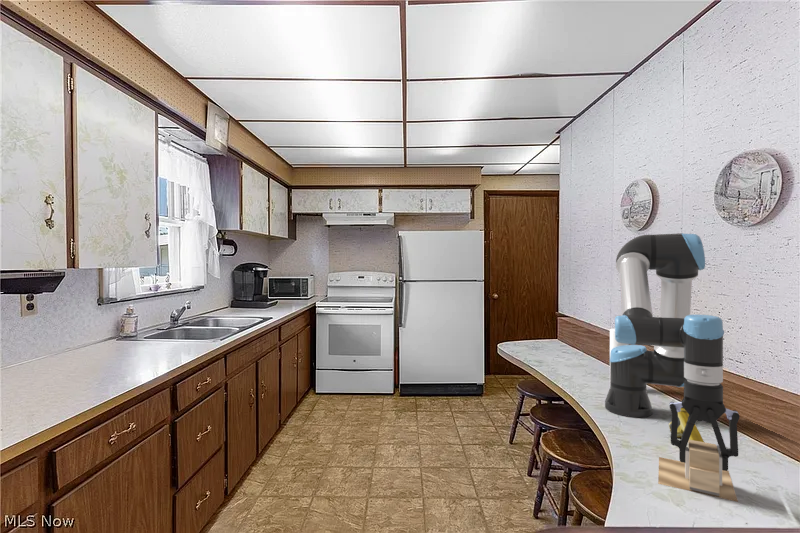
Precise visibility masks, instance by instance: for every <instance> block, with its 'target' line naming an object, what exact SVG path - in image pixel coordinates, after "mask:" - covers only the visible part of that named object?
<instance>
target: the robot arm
mask: <svg viewBox="0 0 800 533" xmlns="http://www.w3.org/2000/svg"><path fill="white" fill-rule="evenodd" d="M615 267H616V270H617V272H618V273H619V280H620V281H619V282H620V284H619V285H620V300H621V301H620V302H621V303H620V304H621V315H617V316H615V317H614V329H615V340H616V341H617V342H619V343H625V344H629V345H623V346H617V347H614V348H613V349H612V350H611V353H610V352H609V390H608V392H607V394H606V397H605V400H604V407H605V409H606V410H607V411H609V412H611V413H613V414H616V415H619V416H625V417H631V418H646V417H650V416H652V414H653V406H652V404H651V400H650V398H649V395H648V392H647V385H648V384H651V385H660V386H667V387H668V386H670V387H676V388H683V398H682V399H681V401H678V402H675V401H670V402H669V404H668V405H669V409H670V412H671V421H672V422H671V421H670V422H671V432H670V445H672V446H675V447H677V448H678V449H679V451H678V452H679V461H680V462H684V463H685V478H688V479H689V447H688V441H689V438H690V435H691V433H692V430H693V427H694V425H696V423H697V422H705V423H708V424H711V427H712V430H713V433H714V435H715V439H716V442H717V446H718V447H719V450H720V452H718V453H719V485H720V486H722V470H724V471H729V458H730V457H739V441H738V440H739V439H738V438H739V436H738V423H739V421H740V417H741V416H740V413H739V412H738V410H736V409H735V410H731V409H729V408H726V405H725V404H724V386H723V384H722V383H723V382H724V334H725V331H724V326H723V325H724V324H723V320H722V318H721V317H719V316H716V315H712V314H711V315H710V314H691V309H692V308H691V304H692V290H693V289H692V285H693V284H692V283H693V280H694V279H696V278H697V277H698V276H699V271H702V270H705V269H706V256H705V249H704V245H703V242H702V238H701V237H700V236H699V235H698V234H696V233H683V232H681V233H662V234H661V233H660V234H659V233H658V234H643V235H639V236H636V237H633V238H632V239H630V240H629V241H627V242H626V243H625V244H624V245H623V246H622V247H621V248H620V249H619V250H618V253H617V254H616V259H615ZM649 270H652V271H655V275H656V276H657V277H658V278H660V299H659V300H660V305H659V316H653V308H652V301H651V300H652V299H651V294H650V293H651V292H650V286H649V278H648V271H649ZM646 346H653V350H648V349H647V347H646ZM682 407H683V408H684V409H685V410H686V412H687V413H688V414H689V417H688V421H687V423H686V426H685V429H684V431H683V434H682V437H681V439H677V428H678V412H680V411H681V408H682ZM724 414H725V415H726V419H727V420H728V427H729V429H728V432H729V447H730V448H727V447H726V443H725V441H724V438H723V435H722V432H721V430H720V426H719V423H718V420H719V418H721V417H722V416H723V415H724Z"/></svg>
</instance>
